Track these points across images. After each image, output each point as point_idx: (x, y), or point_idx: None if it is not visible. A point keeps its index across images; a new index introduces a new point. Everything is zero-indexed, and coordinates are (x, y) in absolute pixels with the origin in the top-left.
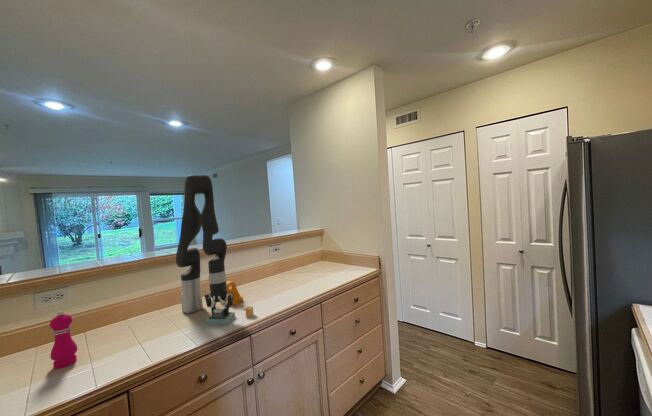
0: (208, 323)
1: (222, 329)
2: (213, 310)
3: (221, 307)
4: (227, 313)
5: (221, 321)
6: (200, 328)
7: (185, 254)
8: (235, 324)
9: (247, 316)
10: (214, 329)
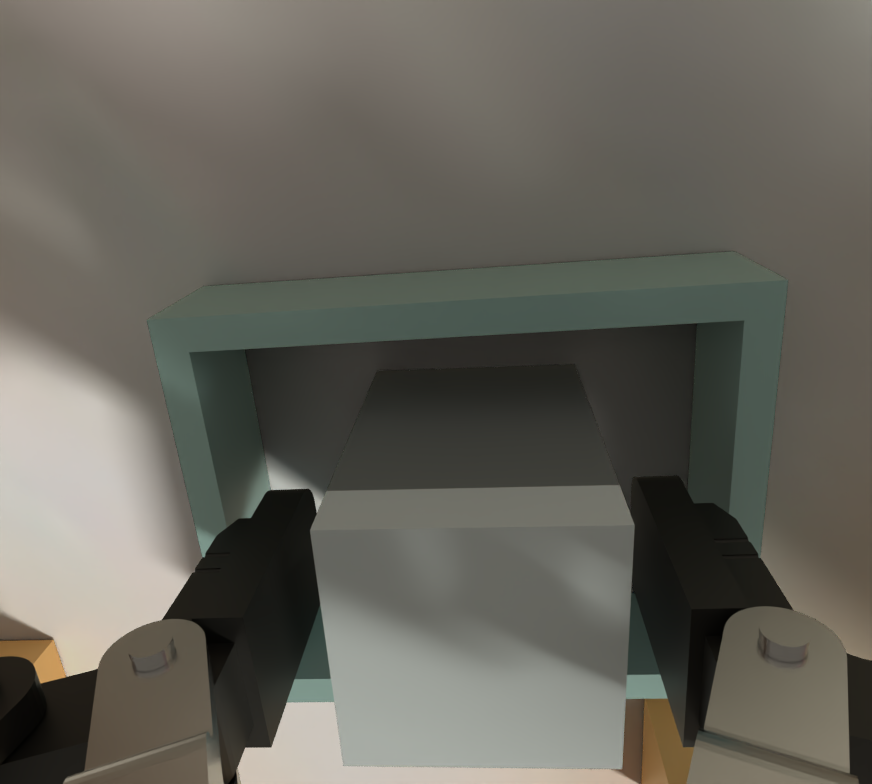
0: (670, 262)
1: (117, 68)
2: (626, 522)
3: (472, 736)
4: (217, 550)
5: (281, 298)
6: (765, 25)
7: None
8: (12, 341)
9: (16, 648)
10: (324, 34)
